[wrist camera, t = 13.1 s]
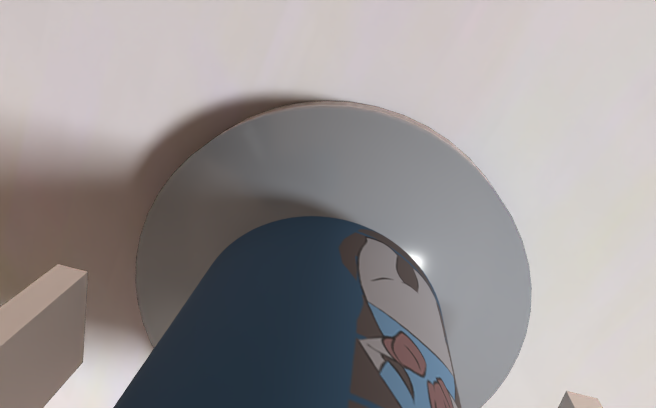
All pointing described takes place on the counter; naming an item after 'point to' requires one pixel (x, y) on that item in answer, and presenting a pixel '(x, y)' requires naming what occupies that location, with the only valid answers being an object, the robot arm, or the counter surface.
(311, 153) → the disc
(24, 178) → the counter surface
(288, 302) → the soda can
